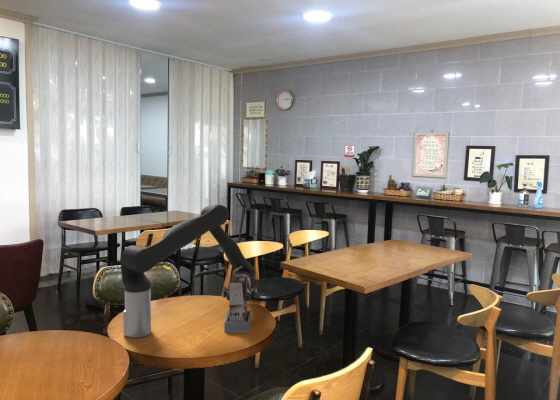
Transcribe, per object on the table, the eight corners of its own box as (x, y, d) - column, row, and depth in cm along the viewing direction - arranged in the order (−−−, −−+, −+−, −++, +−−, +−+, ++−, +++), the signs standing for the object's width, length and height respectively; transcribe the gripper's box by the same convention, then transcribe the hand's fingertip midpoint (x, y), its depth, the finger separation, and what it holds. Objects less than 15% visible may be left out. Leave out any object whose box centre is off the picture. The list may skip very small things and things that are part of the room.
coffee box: (245, 323, 170) (245, 282, 168) (228, 322, 170) (228, 282, 168) (247, 314, 179) (248, 275, 177) (231, 313, 179) (232, 275, 177)
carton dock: (224, 332, 168) (224, 322, 167) (227, 319, 180) (227, 310, 180) (249, 332, 168) (249, 322, 168) (251, 320, 181) (251, 310, 180)
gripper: (224, 276, 187) (219, 289, 170) (258, 276, 187) (256, 289, 170) (224, 293, 188) (219, 307, 171) (258, 293, 188) (256, 308, 171)
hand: (238, 298), depth 171 cm, fingers closed on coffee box, 6 cm apart
